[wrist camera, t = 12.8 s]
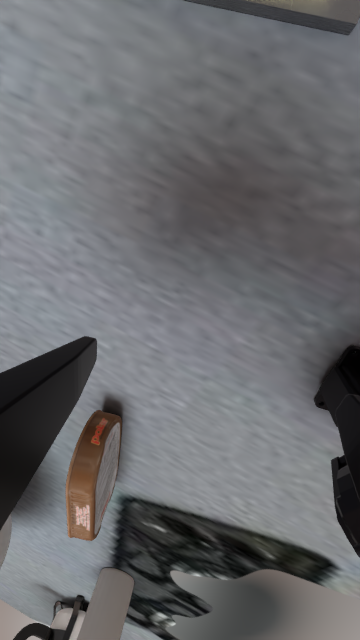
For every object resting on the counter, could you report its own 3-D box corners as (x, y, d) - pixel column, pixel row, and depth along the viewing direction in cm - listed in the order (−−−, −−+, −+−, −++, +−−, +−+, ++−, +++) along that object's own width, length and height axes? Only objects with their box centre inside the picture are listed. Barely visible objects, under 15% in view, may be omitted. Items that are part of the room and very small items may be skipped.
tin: (102, 393, 28) (55, 463, 21) (129, 400, 28) (92, 474, 21) (99, 476, 35) (63, 551, 28) (121, 482, 35) (91, 560, 28)
